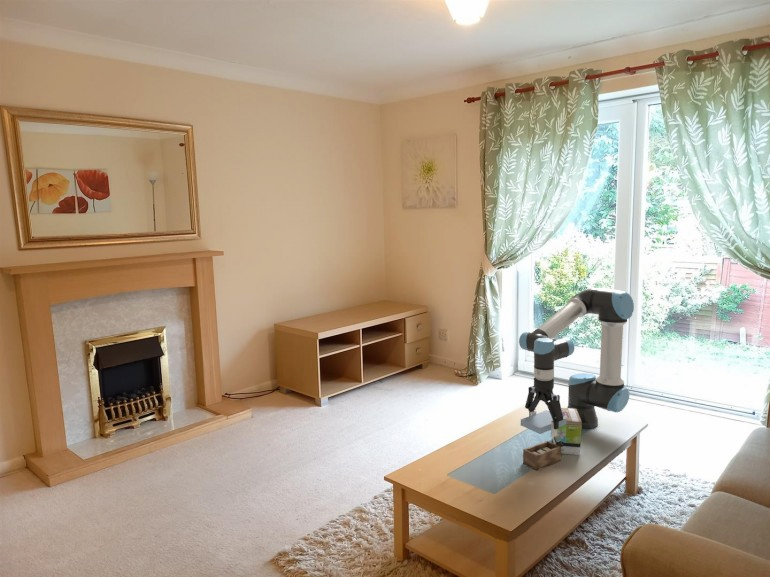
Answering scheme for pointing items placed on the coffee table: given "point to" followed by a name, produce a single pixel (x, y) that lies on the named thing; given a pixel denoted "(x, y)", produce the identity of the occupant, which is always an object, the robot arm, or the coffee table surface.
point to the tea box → (569, 433)
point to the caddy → (541, 455)
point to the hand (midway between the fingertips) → (543, 431)
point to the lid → (540, 422)
